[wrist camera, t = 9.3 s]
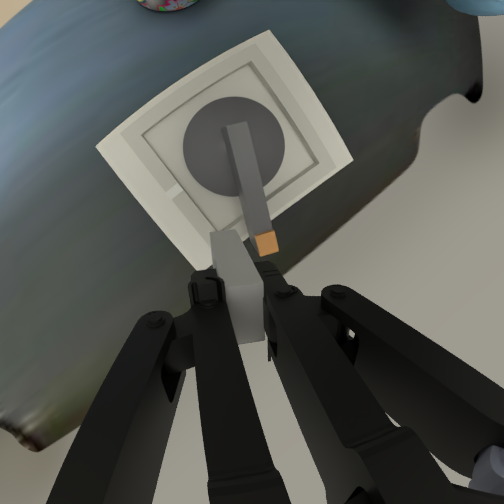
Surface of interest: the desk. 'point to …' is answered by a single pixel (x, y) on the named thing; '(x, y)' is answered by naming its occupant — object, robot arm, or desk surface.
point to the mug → (166, 4)
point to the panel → (172, 134)
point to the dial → (238, 159)
